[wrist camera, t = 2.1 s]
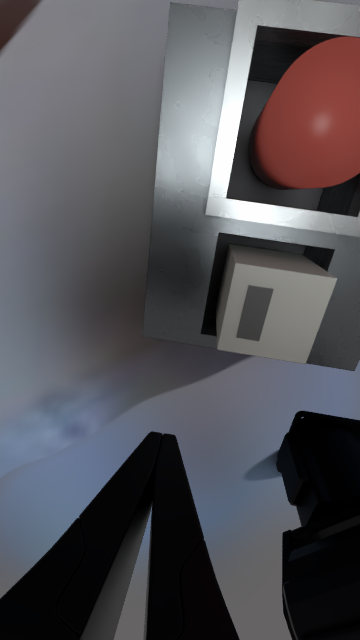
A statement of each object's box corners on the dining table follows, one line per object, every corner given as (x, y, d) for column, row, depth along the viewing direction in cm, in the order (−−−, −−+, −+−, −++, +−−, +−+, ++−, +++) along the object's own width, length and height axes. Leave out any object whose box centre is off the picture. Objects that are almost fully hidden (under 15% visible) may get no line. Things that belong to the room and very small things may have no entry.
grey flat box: (427, 82, 14) (536, 25, 9) (327, 337, 19) (362, 381, 15) (181, 51, 14) (166, -16, 10) (155, 310, 20) (138, 344, 15)
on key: (302, 254, 15) (338, 279, 11) (281, 320, 17) (306, 365, 13) (228, 243, 16) (235, 263, 11) (215, 310, 17) (217, 350, 13)
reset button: (350, 97, 13) (424, 45, 8) (320, 194, 14) (368, 195, 10) (260, 85, 13) (285, 29, 8) (240, 183, 14) (253, 179, 10)
